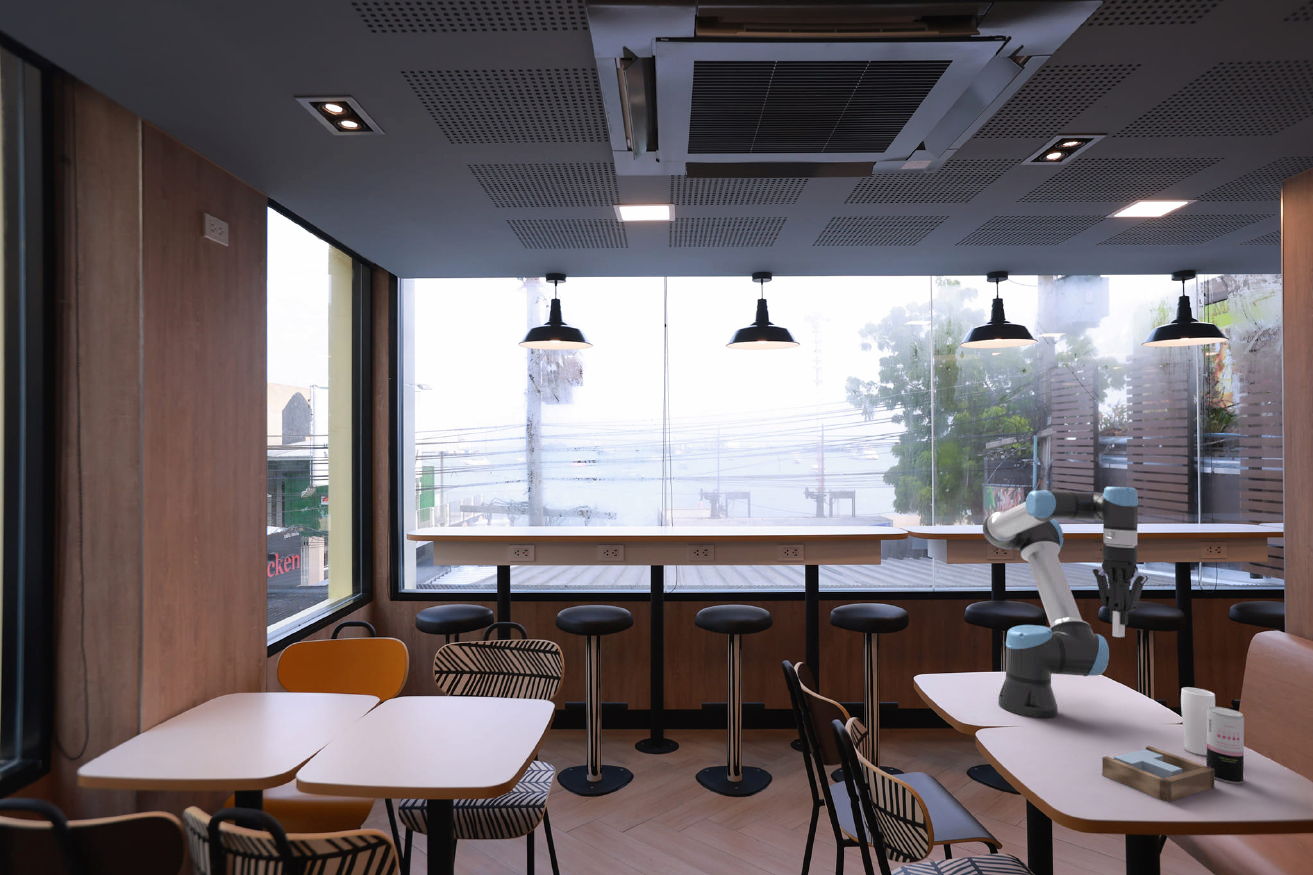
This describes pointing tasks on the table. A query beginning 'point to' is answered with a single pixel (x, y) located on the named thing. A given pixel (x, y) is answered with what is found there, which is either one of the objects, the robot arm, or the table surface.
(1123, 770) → the walnut corral
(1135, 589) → the robot arm
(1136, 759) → the tee block
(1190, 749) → the white paper cup
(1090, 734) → the table surface
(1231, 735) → the beverage can
